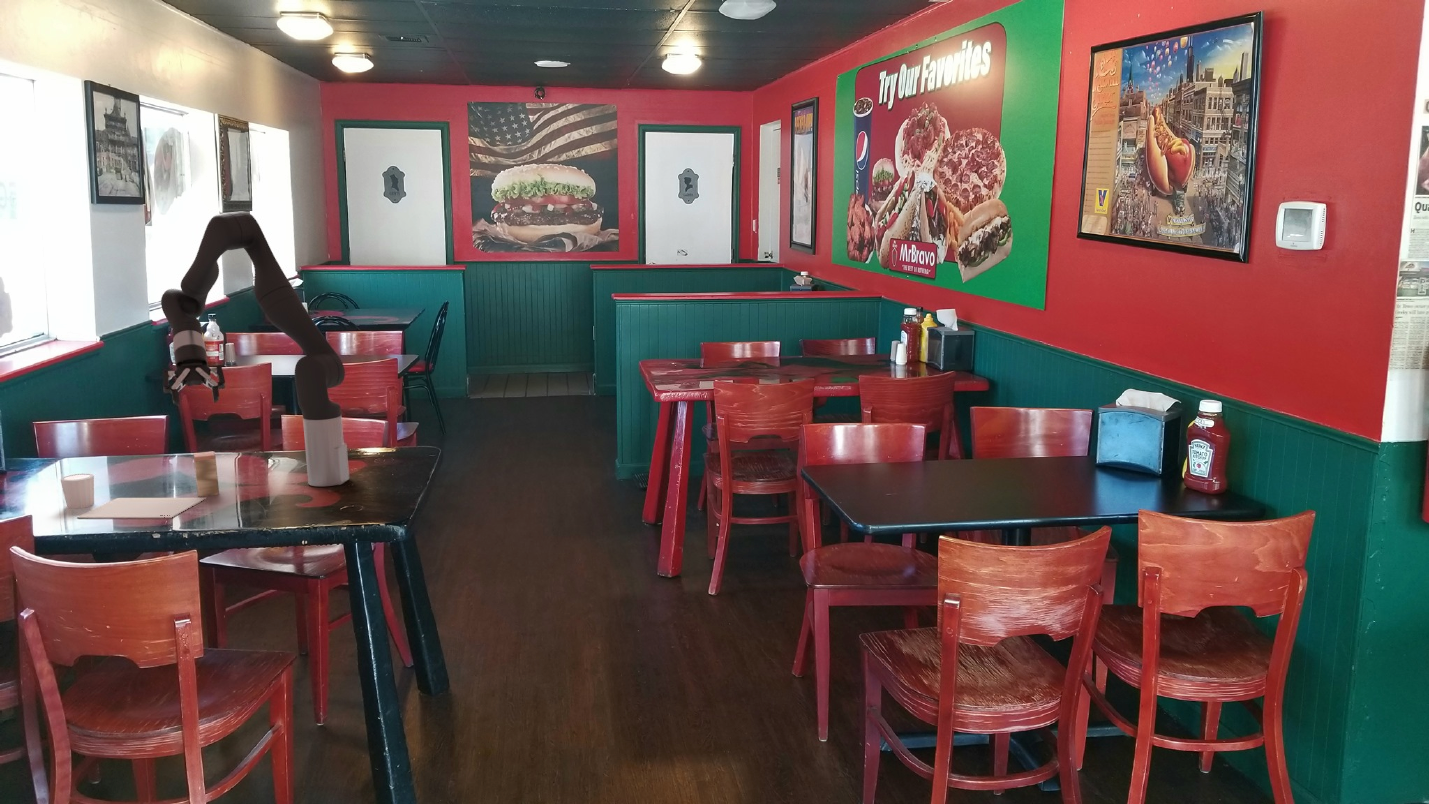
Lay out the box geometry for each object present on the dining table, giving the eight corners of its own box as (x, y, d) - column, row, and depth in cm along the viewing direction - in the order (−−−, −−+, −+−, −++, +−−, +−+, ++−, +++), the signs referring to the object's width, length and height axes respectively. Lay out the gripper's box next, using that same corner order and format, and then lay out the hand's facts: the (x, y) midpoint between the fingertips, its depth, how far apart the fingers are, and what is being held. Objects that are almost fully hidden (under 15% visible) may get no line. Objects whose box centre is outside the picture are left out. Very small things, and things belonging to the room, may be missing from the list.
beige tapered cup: (81, 509, 250) (78, 481, 248) (57, 508, 251) (53, 479, 250) (103, 501, 256) (100, 473, 255) (79, 500, 258) (75, 472, 256)
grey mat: (206, 498, 258) (206, 497, 258) (171, 518, 242) (171, 517, 242) (117, 499, 258) (117, 497, 258) (77, 518, 243) (76, 517, 243)
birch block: (217, 489, 266) (214, 451, 264) (219, 494, 262) (215, 455, 260) (197, 492, 264) (193, 453, 262) (198, 496, 260) (194, 457, 258)
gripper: (158, 345, 270) (164, 396, 263) (219, 341, 277) (227, 391, 270) (160, 362, 276) (166, 413, 268) (220, 358, 283) (227, 408, 275)
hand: (196, 402), depth 269 cm, fingers open, 8 cm apart
